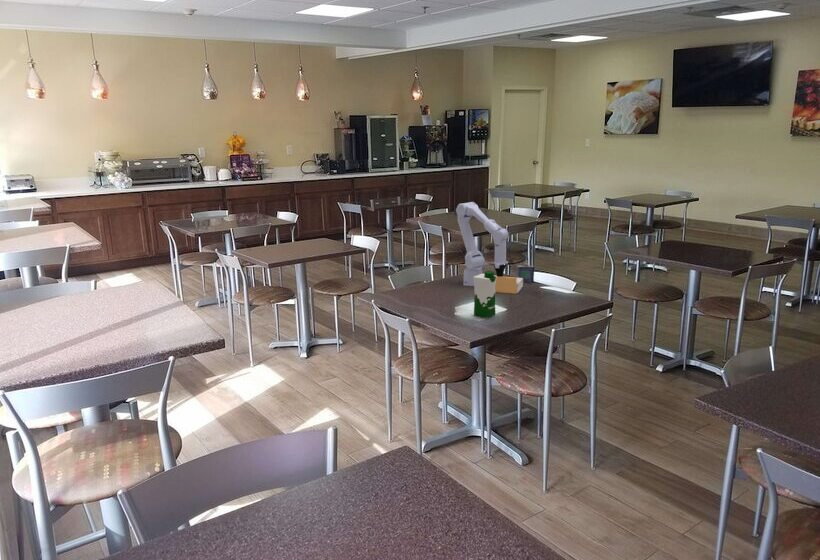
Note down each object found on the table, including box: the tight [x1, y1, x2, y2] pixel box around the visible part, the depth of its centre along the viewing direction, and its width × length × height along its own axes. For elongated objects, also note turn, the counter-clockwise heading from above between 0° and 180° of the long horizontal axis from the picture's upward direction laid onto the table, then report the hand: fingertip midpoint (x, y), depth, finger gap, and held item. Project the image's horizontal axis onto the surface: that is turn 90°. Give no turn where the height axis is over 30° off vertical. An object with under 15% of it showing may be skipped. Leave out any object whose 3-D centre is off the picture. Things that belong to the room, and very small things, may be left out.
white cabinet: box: [513, 277, 524, 294], centre depth 310 cm, size 20×14×5 cm
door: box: [495, 275, 517, 294], centre depth 303 cm, size 19×1×8 cm, turn 69°
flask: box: [516, 262, 535, 284], centre depth 322 cm, size 9×3×11 cm, turn 76°
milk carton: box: [473, 270, 497, 319], centre depth 267 cm, size 9×9×20 cm
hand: (499, 278), depth 307 cm, fingers closed
